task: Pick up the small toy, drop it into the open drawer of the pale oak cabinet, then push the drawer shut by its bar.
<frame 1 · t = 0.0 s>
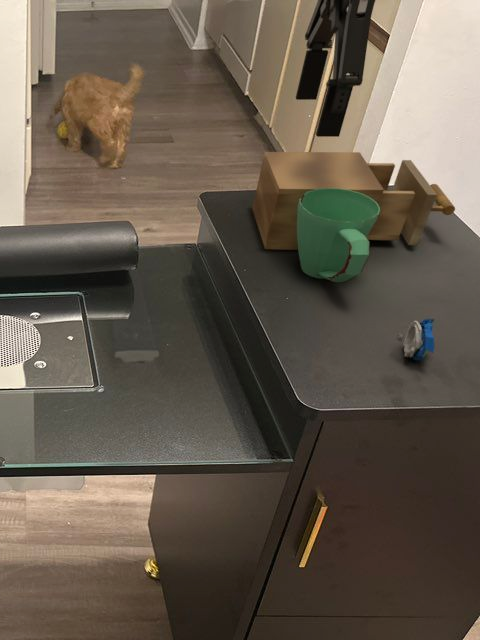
hand: (315, 116, 99), 17 cm above the table, tool pointing down, fingers open, 13 cm apart
drawer: (383, 201, 106), point 5 cm above the table, slide at 6.0 cm
cabinet: (304, 229, 111), on the table
mug: (324, 280, 100), on the table
toy: (405, 357, 87), on the table
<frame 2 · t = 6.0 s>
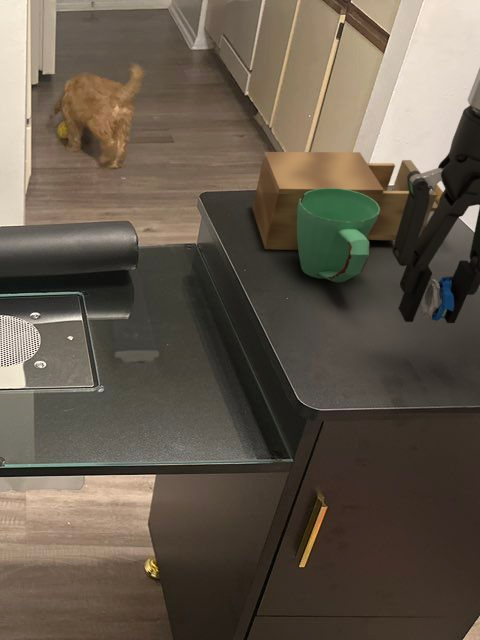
hand: (426, 315, 83), 6 cm above the table, tool pointing down, fingers closed on toy, 4 cm apart
toy: (424, 319, 83), point 5 cm above the table, touching gripper
everything else where it was.
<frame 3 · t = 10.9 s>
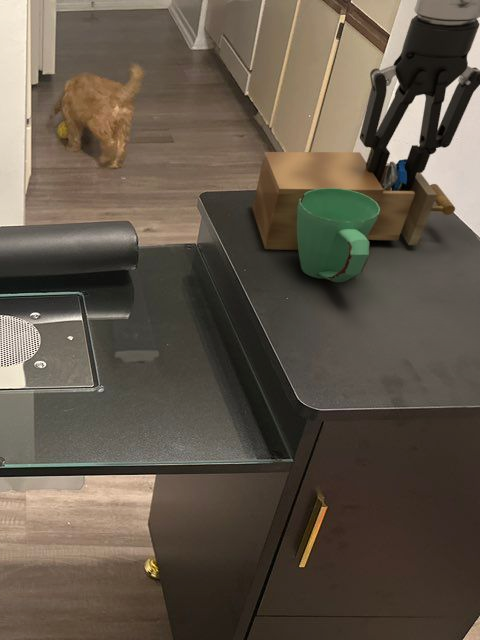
hand: (386, 192, 105), 6 cm above the table, tool pointing down, fingers closed on toy, 4 cm apart
toy: (385, 195, 105), point 6 cm above the table, touching gripper
everything else where it was.
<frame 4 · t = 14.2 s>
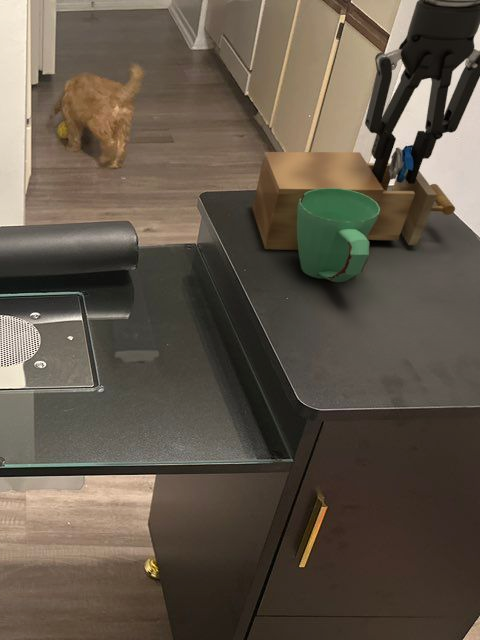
hand: (392, 178, 104), 8 cm above the table, tool pointing down, fingers closed on toy, 4 cm apart
toy: (390, 182, 104), point 8 cm above the table, touching gripper
everything else where it was.
when the fingers open (9 cm above the table, at t = 17.0 s): toy drops 6 cm, resting on drawer.
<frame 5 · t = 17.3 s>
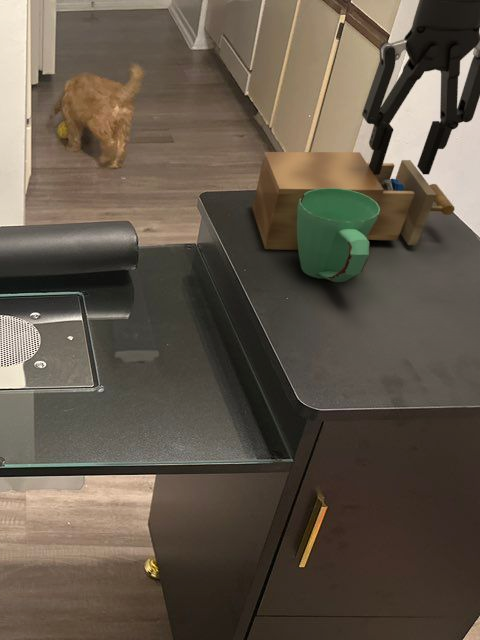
hand: (398, 170, 103), 10 cm above the table, tool pointing down, fingers open, 6 cm apart
drawer: (382, 201, 106), point 5 cm above the table, slide at 5.9 cm, touching toy
toy: (377, 213, 108), point 3 cm above the table, touching drawer
everything else where it was.
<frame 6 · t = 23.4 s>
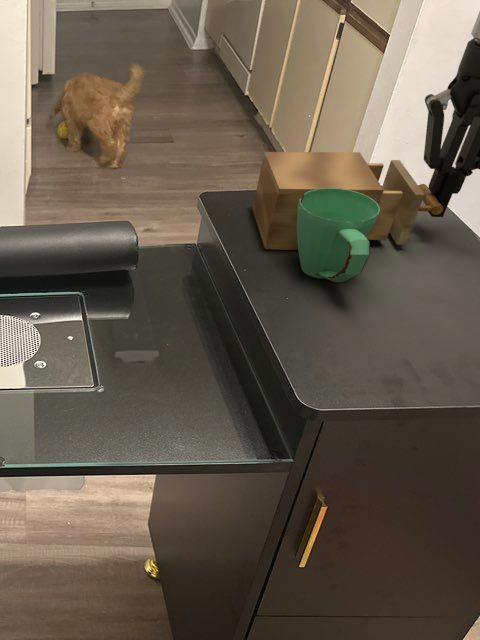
hand: (434, 212, 106), 3 cm above the table, tool pointing down, fingers closed
drawer: (372, 201, 106), point 5 cm above the table, slide at 4.4 cm, touching gripper, toy
toy: (364, 207, 106), point 4 cm above the table, touching drawer
everything else where it was.
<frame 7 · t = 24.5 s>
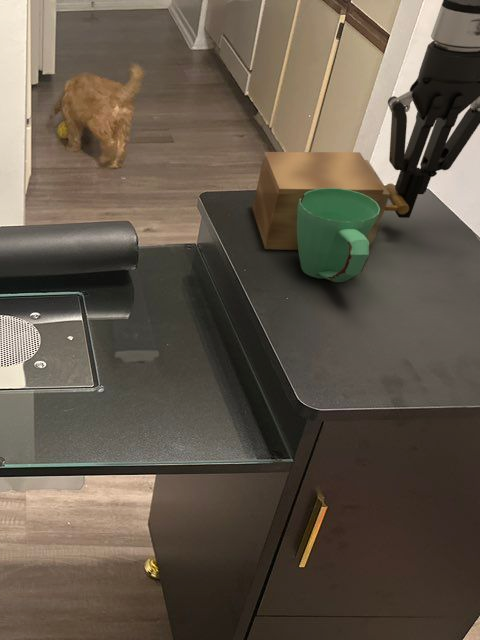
hand: (401, 213, 107), 3 cm above the table, tool pointing down, fingers closed
drawer: (340, 200, 107), point 5 cm above the table, slide at 0.0 cm, touching cabinet, gripper, toy
toy: (332, 207, 107), point 4 cm above the table, touching drawer
everything else where it was.
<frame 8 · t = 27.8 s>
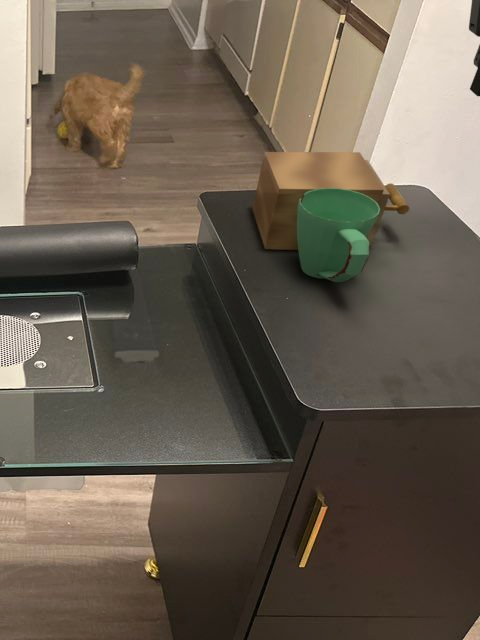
hand: (479, 92, 95), 20 cm above the table, tool pointing down, fingers closed
drawer: (340, 200, 107), point 5 cm above the table, slide at 0.0 cm, touching toy
everything else where it was.
at the end: toy inside the target area in the cabinet (2.9 cm from its centre), point 4.3 cm above the cabinet's base; drawer slide at 0.0 cm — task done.
